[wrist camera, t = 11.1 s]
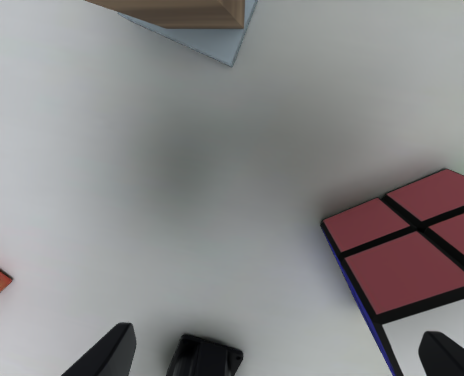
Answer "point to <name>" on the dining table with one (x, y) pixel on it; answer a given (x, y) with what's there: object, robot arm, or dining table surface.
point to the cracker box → (4, 281)
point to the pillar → (182, 12)
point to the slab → (206, 37)
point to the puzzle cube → (406, 265)
